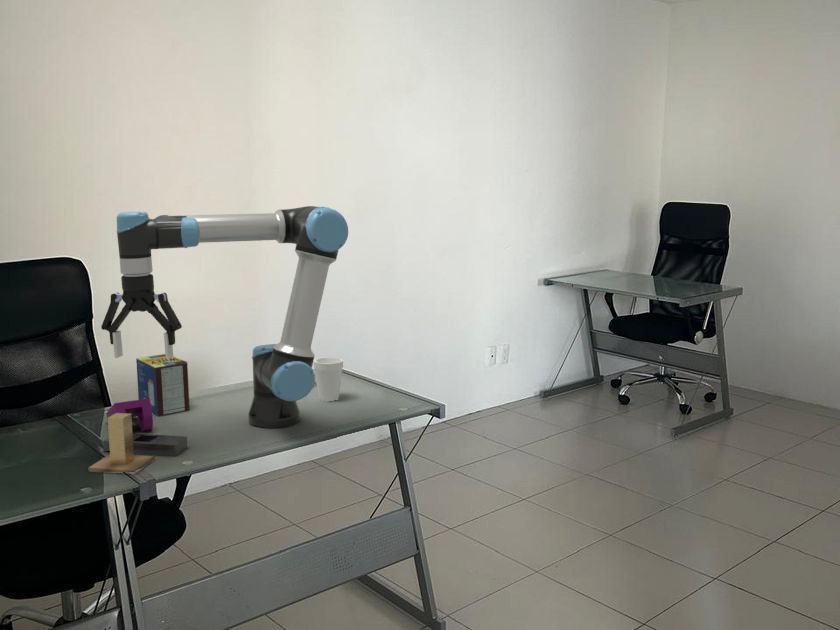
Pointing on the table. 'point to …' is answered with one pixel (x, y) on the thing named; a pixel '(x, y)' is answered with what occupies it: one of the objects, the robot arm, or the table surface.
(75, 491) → the table surface
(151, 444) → the rail
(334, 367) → the foam cup
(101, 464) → the walnut pad
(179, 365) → the protein box
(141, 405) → the mounting bracket
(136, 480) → the table surface
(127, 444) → the square peg
